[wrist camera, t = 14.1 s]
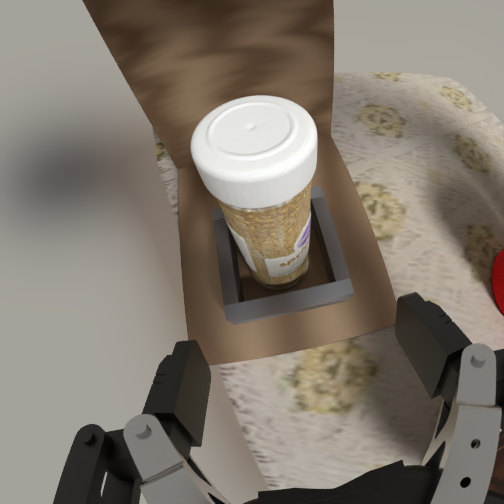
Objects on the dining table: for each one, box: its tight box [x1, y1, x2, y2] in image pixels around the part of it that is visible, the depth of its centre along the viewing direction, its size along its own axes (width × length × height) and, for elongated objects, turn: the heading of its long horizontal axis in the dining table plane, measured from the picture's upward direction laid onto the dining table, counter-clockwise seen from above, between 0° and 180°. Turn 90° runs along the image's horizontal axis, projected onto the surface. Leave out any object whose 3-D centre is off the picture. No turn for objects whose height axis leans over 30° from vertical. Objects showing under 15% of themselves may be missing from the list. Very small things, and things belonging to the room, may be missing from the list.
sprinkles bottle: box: [191, 95, 317, 290], centre depth 15 cm, size 5×5×14 cm
